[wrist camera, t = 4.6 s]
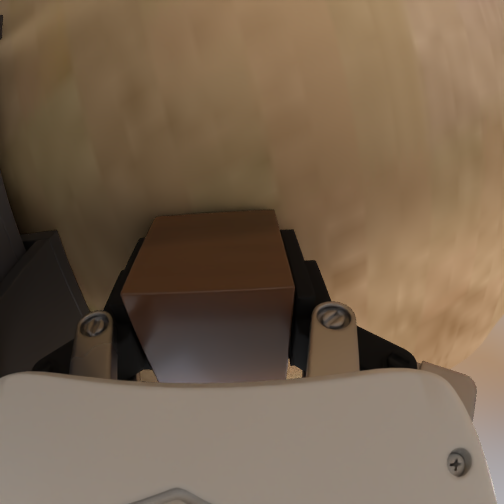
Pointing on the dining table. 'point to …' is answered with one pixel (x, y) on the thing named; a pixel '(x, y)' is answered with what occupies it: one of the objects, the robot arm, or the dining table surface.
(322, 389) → the robot arm
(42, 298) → the small drawer cabinet
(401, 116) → the dining table surface
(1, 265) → the handled drawer
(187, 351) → the block
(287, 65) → the dining table surface
